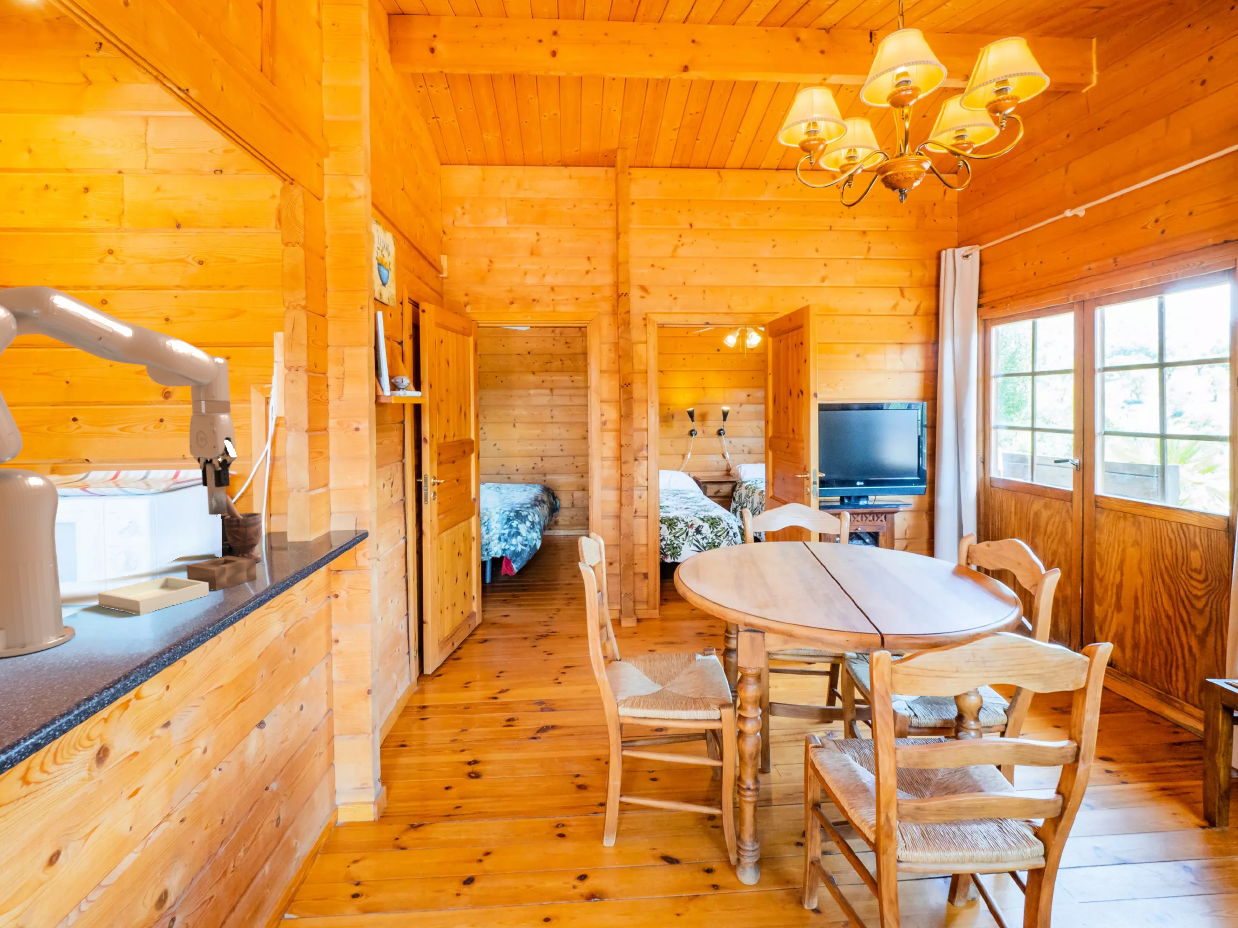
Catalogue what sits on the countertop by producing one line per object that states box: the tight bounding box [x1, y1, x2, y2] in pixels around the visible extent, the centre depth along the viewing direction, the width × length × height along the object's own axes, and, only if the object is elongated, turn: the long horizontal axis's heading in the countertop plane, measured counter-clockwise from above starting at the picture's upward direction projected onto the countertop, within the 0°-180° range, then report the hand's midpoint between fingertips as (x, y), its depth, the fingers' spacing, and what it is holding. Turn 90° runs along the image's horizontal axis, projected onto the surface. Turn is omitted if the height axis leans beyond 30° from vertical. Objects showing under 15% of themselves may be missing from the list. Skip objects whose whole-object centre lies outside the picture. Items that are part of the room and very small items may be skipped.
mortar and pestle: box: [224, 494, 263, 563], centre depth 162 cm, size 12×9×20 cm
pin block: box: [186, 556, 257, 591], centre depth 145 cm, size 10×10×5 cm
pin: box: [206, 463, 227, 516], centre depth 143 cm, size 4×4×12 cm
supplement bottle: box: [221, 513, 236, 557], centre depth 172 cm, size 7×7×12 cm
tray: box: [97, 575, 210, 616], centre depth 131 cm, size 14×14×3 cm
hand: (216, 485), depth 143 cm, fingers closed on pin, 3 cm apart
